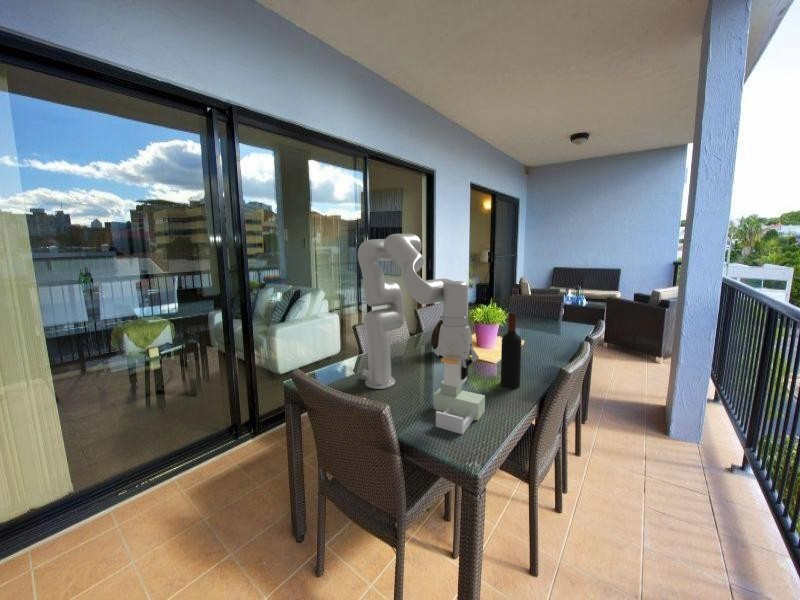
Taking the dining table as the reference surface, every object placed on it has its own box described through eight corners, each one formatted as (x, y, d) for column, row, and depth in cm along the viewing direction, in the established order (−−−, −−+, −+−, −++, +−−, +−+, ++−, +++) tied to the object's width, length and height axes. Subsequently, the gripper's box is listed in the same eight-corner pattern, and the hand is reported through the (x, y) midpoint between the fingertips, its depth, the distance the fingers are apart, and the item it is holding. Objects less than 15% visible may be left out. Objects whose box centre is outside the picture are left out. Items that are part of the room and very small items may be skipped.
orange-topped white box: (441, 386, 106) (440, 358, 104) (452, 376, 113) (452, 350, 112) (456, 389, 103) (456, 361, 102) (466, 379, 111) (467, 352, 109)
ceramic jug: (463, 359, 170) (463, 300, 165) (432, 359, 170) (431, 301, 165) (458, 348, 187) (458, 294, 182) (430, 349, 187) (429, 295, 182)
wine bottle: (497, 385, 139) (498, 313, 134) (506, 379, 144) (508, 310, 139) (514, 390, 134) (516, 315, 129) (523, 384, 139) (525, 312, 134)
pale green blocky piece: (420, 422, 112) (420, 393, 110) (442, 401, 126) (442, 375, 125) (466, 435, 104) (467, 405, 102) (484, 411, 118) (485, 384, 116)
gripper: (425, 320, 107) (426, 375, 110) (478, 326, 98) (477, 386, 101) (436, 316, 113) (436, 368, 116) (486, 321, 104) (485, 377, 107)
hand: (455, 375), depth 109 cm, fingers closed on orange-topped white box, 5 cm apart
